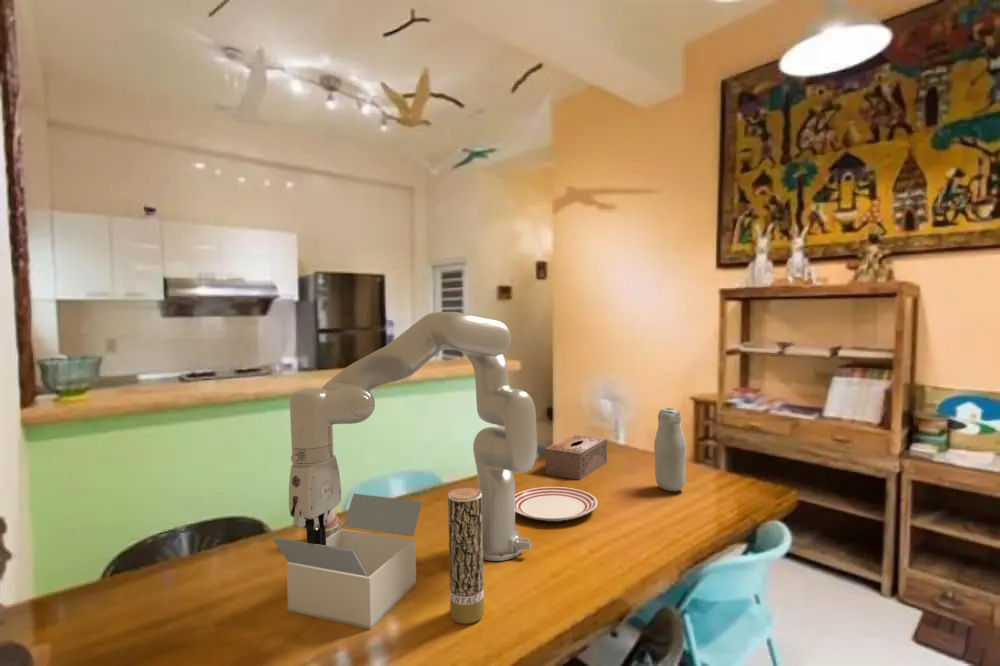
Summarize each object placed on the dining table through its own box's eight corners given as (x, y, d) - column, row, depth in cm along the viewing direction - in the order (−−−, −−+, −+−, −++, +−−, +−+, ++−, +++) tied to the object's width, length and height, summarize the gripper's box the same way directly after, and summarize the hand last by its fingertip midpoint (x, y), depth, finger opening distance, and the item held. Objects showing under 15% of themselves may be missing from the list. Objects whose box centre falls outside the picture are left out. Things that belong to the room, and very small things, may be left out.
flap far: (412, 536, 116) (413, 536, 117) (421, 501, 120) (422, 502, 120) (343, 526, 123) (343, 526, 123) (353, 493, 127) (354, 493, 127)
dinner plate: (494, 521, 152) (494, 510, 151) (525, 491, 177) (525, 481, 177) (586, 534, 141) (586, 522, 141) (605, 500, 167) (605, 490, 166)
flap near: (288, 560, 106) (288, 561, 105) (272, 536, 102) (271, 538, 101) (366, 574, 99) (366, 575, 99) (353, 549, 95) (352, 551, 95)
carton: (416, 583, 116) (415, 539, 116) (370, 629, 100) (369, 578, 99) (342, 569, 123) (341, 528, 123) (288, 611, 106) (286, 563, 106)
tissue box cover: (580, 480, 187) (580, 453, 187) (545, 474, 195) (545, 448, 195) (606, 463, 209) (606, 438, 208) (574, 458, 217) (574, 434, 216)
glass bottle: (688, 488, 177) (688, 407, 176) (681, 497, 168) (681, 412, 167) (659, 483, 182) (659, 404, 181) (651, 492, 173) (650, 409, 172)
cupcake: (348, 536, 142) (347, 501, 141) (330, 552, 133) (329, 514, 132) (318, 534, 144) (317, 499, 143) (298, 549, 135) (297, 511, 134)
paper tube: (450, 607, 107) (448, 488, 106) (483, 605, 107) (481, 486, 106) (450, 626, 100) (447, 500, 99) (484, 624, 100) (482, 498, 100)
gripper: (301, 466, 91) (305, 568, 92) (352, 445, 105) (356, 533, 106) (268, 463, 93) (272, 562, 94) (322, 442, 107) (326, 528, 108)
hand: (316, 546), depth 100 cm, fingers closed
